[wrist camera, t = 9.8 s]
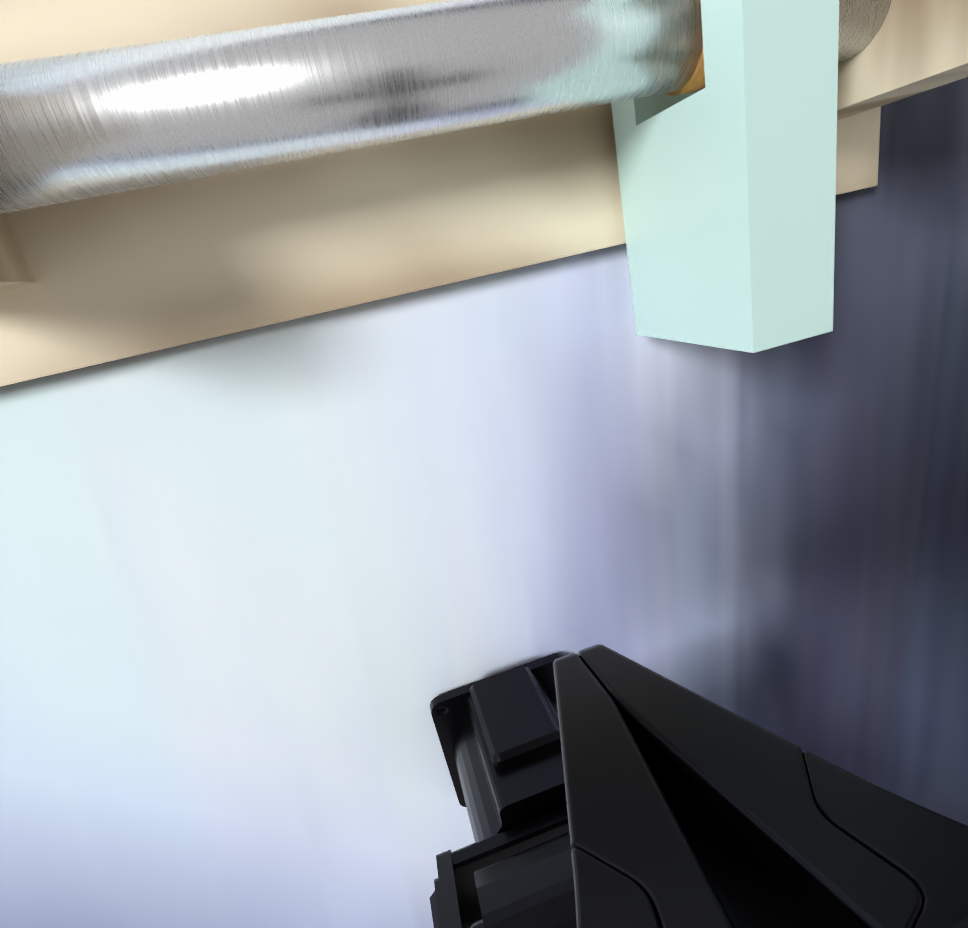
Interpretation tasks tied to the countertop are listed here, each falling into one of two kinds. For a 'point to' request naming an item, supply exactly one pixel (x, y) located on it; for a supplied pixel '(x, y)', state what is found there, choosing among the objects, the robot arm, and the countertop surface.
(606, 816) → the robot arm
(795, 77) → the collar
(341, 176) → the beige cradle stand
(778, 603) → the countertop surface
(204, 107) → the pipe
